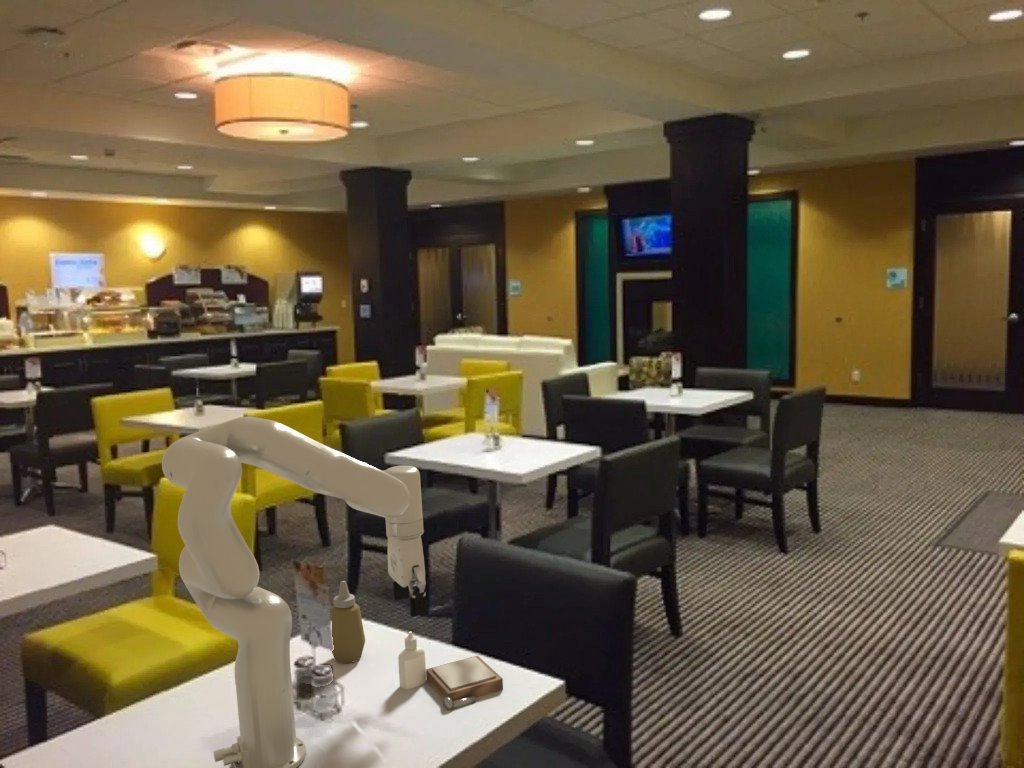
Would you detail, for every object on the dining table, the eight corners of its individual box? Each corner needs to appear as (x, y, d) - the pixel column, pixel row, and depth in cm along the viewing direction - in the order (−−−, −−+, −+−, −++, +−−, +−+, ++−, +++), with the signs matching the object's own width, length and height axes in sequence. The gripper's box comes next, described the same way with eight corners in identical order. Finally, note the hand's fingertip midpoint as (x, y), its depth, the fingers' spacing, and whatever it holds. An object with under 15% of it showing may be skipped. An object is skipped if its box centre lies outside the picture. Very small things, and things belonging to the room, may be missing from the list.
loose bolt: (449, 706, 168) (444, 695, 170) (446, 714, 169) (441, 703, 171) (476, 699, 171) (471, 688, 173) (473, 707, 172) (468, 696, 174)
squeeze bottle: (328, 653, 197) (322, 578, 194) (363, 647, 199) (358, 573, 196) (331, 669, 189) (326, 590, 186) (368, 662, 191) (363, 585, 189)
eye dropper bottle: (427, 689, 178) (424, 634, 177) (400, 693, 177) (397, 638, 176) (425, 679, 183) (422, 626, 181) (399, 683, 182) (396, 629, 180)
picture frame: (449, 707, 171) (448, 691, 170) (426, 682, 181) (425, 667, 181) (503, 692, 176) (502, 676, 176) (478, 668, 187) (477, 653, 186)
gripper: (373, 519, 181) (379, 596, 184) (401, 542, 166) (407, 626, 168) (407, 513, 184) (412, 589, 187) (438, 534, 169) (442, 617, 172)
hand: (409, 606), depth 178 cm, fingers open, 9 cm apart
